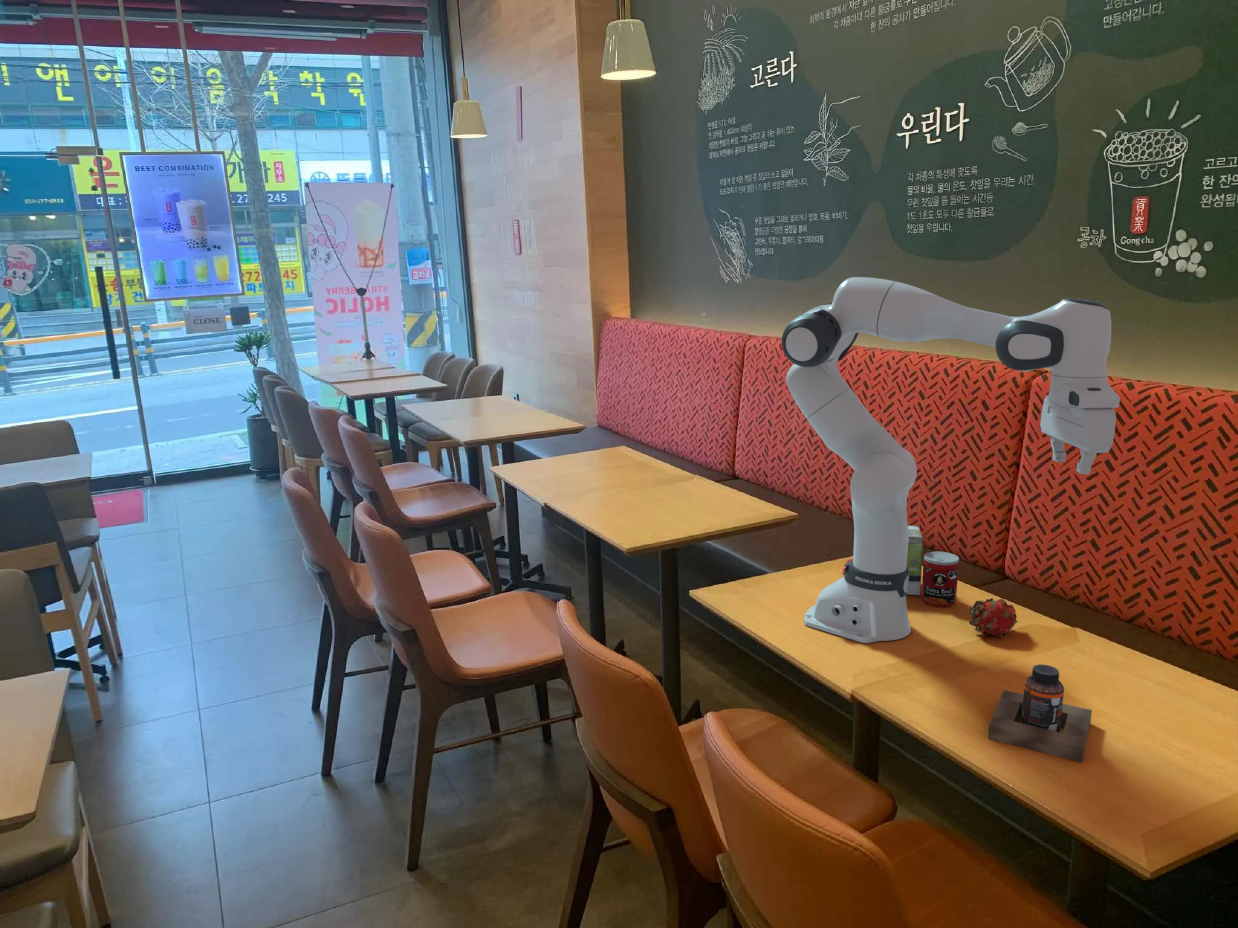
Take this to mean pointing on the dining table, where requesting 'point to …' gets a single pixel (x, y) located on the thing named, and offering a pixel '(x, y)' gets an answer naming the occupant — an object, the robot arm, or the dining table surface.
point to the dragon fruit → (993, 617)
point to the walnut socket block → (1040, 729)
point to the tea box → (914, 560)
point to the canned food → (940, 579)
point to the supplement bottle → (1043, 698)
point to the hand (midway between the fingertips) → (1070, 467)
